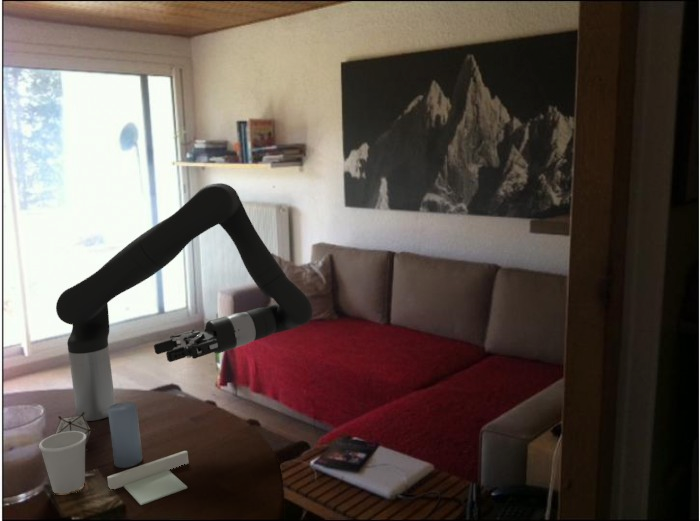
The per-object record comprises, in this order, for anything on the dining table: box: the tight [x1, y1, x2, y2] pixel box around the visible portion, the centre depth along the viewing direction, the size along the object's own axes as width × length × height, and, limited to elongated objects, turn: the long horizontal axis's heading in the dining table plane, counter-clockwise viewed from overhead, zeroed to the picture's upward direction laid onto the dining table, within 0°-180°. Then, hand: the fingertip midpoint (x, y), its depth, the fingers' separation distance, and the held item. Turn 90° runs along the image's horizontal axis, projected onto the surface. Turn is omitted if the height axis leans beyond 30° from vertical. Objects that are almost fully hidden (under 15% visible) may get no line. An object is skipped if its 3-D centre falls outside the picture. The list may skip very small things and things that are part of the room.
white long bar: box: [106, 450, 190, 490], centre depth 129 cm, size 1×16×2 cm, turn 128°
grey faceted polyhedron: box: [54, 412, 95, 452], centre depth 142 cm, size 9×8×10 cm
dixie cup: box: [38, 431, 86, 494], centre depth 125 cm, size 8×8×10 cm
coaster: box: [123, 470, 188, 506], centre depth 124 cm, size 9×9×1 cm
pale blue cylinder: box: [108, 401, 144, 469], centre depth 135 cm, size 6×6×12 cm
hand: (161, 353), depth 138 cm, fingers open, 8 cm apart
